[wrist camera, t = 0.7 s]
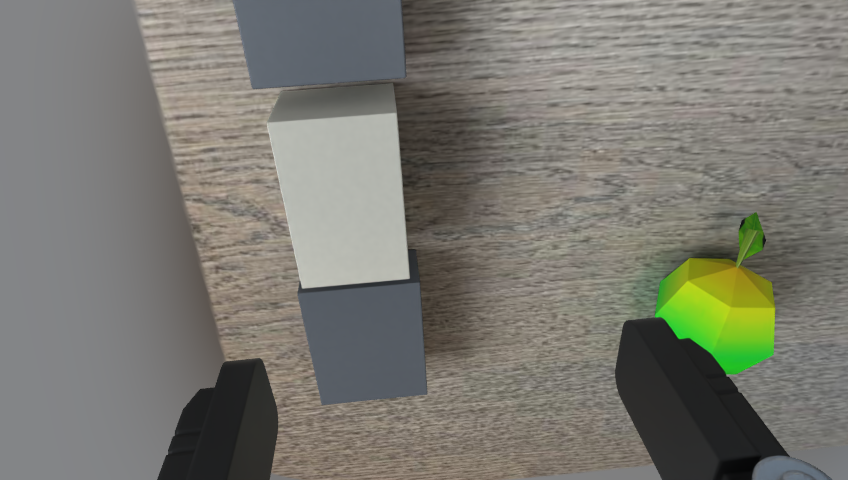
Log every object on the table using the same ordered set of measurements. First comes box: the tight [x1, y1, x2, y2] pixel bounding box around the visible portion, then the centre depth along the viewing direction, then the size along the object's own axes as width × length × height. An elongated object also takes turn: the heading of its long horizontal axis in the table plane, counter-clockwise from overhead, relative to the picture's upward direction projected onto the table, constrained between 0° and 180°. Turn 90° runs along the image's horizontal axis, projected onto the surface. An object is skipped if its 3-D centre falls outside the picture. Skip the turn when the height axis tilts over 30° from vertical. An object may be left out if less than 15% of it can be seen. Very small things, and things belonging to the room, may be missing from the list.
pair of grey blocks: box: [233, 0, 427, 405], centre depth 25 cm, size 26×6×3 cm, turn 3°
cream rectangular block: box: [267, 83, 410, 288], centre depth 25 cm, size 8×5×4 cm, turn 3°
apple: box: [655, 212, 775, 374], centre depth 29 cm, size 7×6×9 cm
